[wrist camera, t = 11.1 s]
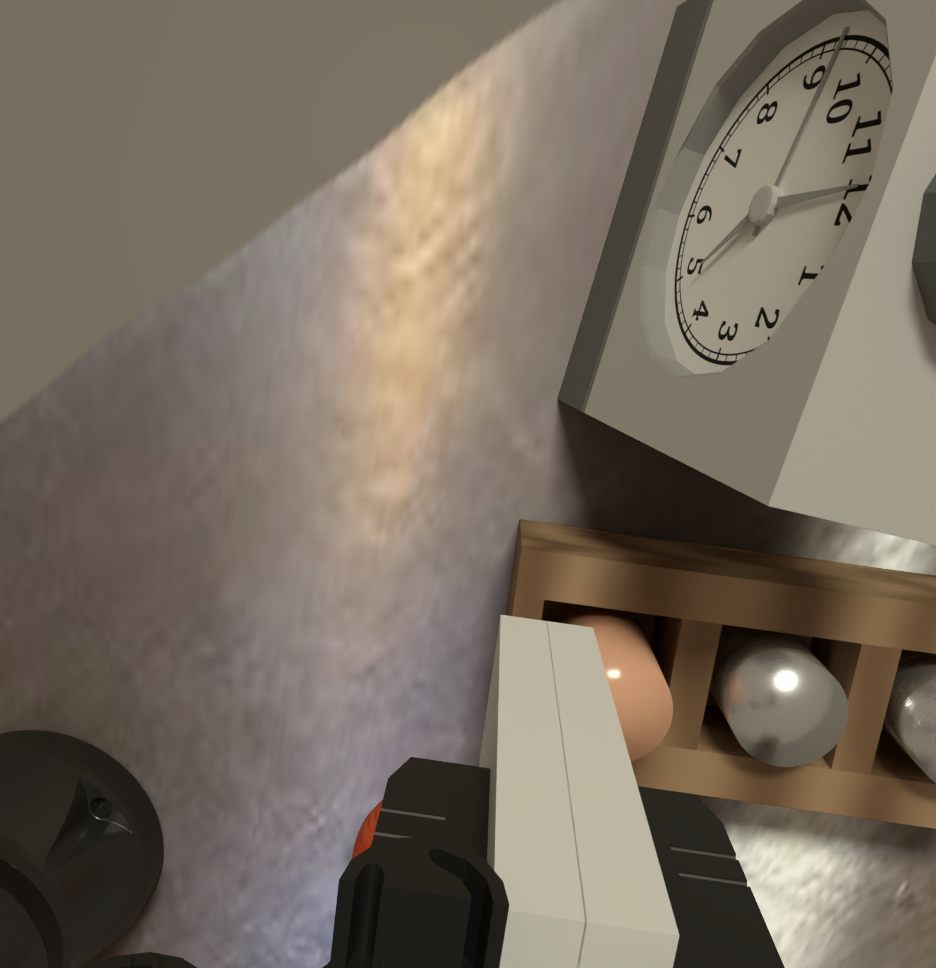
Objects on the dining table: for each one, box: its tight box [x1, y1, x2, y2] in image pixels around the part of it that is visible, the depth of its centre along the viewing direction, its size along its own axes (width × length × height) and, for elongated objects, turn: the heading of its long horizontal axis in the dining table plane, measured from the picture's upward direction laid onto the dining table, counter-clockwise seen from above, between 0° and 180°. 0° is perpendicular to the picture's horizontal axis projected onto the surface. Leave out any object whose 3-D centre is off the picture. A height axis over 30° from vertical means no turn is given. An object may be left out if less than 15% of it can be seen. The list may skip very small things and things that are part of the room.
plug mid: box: [709, 624, 849, 767], centre depth 42 cm, size 6×6×7 cm
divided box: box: [506, 519, 936, 829], centre depth 44 cm, size 28×12×6 cm, turn 83°
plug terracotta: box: [554, 604, 673, 762], centre depth 40 cm, size 6×6×7 cm
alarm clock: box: [557, 0, 936, 545], centre depth 32 cm, size 20×16×20 cm
